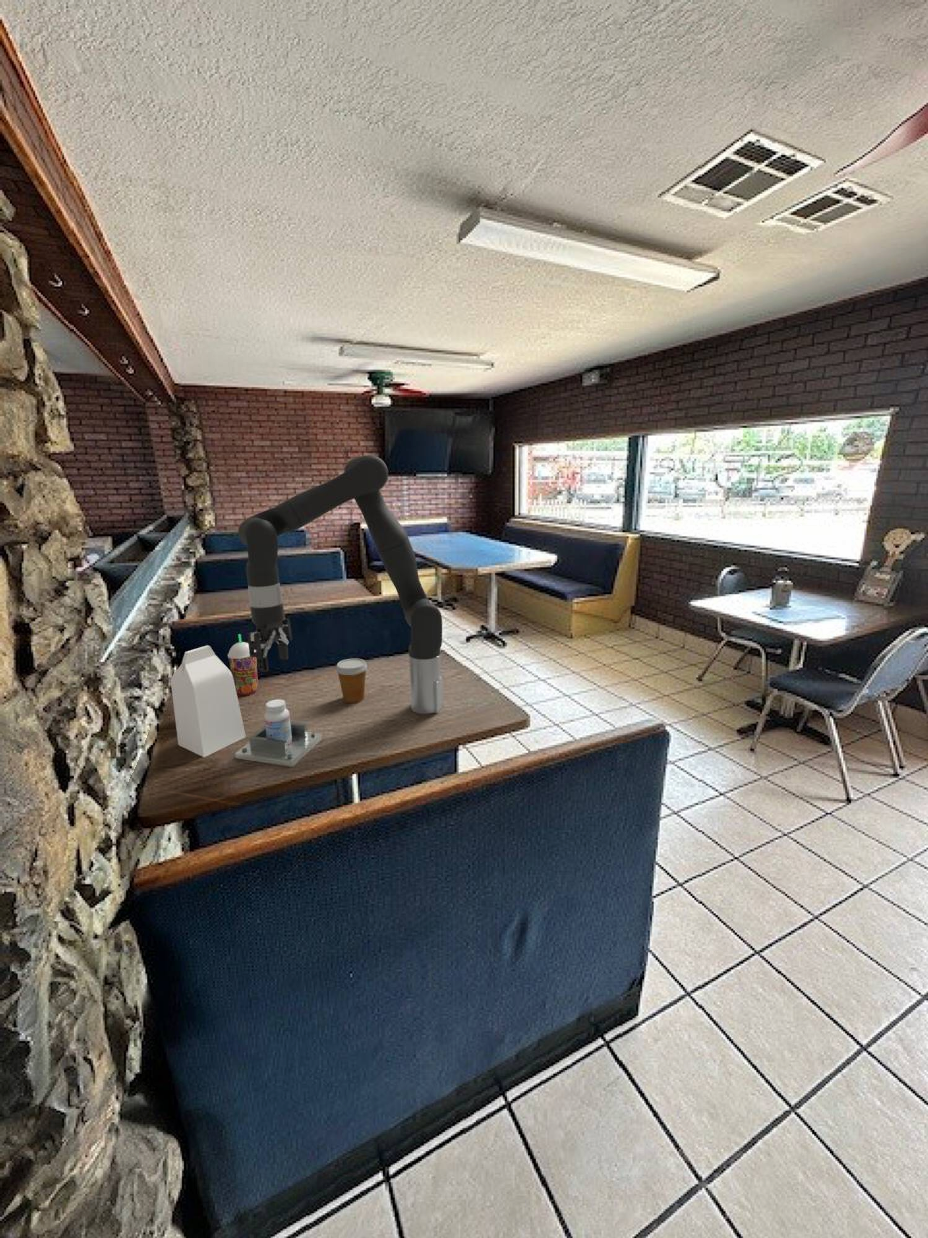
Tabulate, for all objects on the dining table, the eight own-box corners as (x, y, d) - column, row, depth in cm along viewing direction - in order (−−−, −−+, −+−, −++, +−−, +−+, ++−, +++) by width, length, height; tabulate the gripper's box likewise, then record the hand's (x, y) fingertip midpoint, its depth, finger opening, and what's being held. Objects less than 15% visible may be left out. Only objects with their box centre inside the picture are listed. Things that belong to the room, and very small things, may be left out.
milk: (204, 757, 128) (187, 660, 121) (178, 745, 134) (161, 652, 127) (245, 736, 138) (233, 646, 131) (220, 726, 144) (206, 639, 136)
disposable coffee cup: (365, 705, 156) (363, 669, 152) (335, 705, 156) (331, 669, 153) (372, 692, 165) (369, 657, 162) (342, 692, 165) (339, 657, 162)
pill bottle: (262, 746, 130) (257, 706, 127) (278, 735, 135) (274, 696, 132) (281, 750, 128) (276, 710, 125) (297, 739, 133) (293, 700, 130)
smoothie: (234, 700, 160) (225, 640, 155) (232, 690, 167) (224, 632, 162) (262, 695, 164) (255, 635, 158) (259, 685, 171) (252, 629, 165)
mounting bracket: (322, 738, 136) (320, 721, 135) (292, 766, 123) (290, 748, 122) (269, 731, 140) (267, 715, 139) (236, 758, 127) (233, 740, 126)
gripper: (262, 610, 115) (270, 677, 120) (296, 595, 128) (303, 656, 133) (233, 609, 117) (243, 674, 121) (270, 594, 130) (277, 654, 135)
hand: (274, 664), depth 127 cm, fingers open, 8 cm apart
